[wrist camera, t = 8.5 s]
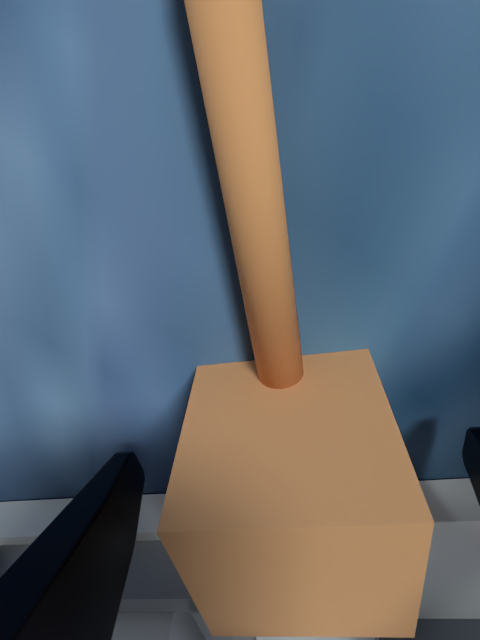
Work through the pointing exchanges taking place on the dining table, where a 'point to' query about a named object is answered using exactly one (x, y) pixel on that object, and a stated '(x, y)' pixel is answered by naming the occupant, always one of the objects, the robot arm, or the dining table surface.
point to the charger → (156, 626)
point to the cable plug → (284, 415)
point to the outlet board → (172, 596)
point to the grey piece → (444, 630)
